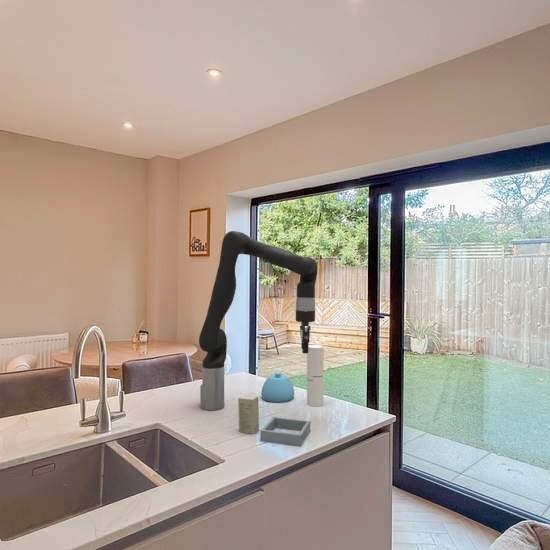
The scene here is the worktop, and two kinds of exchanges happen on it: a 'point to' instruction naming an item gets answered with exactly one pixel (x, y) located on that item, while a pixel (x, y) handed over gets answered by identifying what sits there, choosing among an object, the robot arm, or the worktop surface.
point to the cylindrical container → (315, 375)
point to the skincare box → (248, 414)
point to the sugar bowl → (277, 388)
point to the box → (283, 437)
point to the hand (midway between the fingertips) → (304, 351)
